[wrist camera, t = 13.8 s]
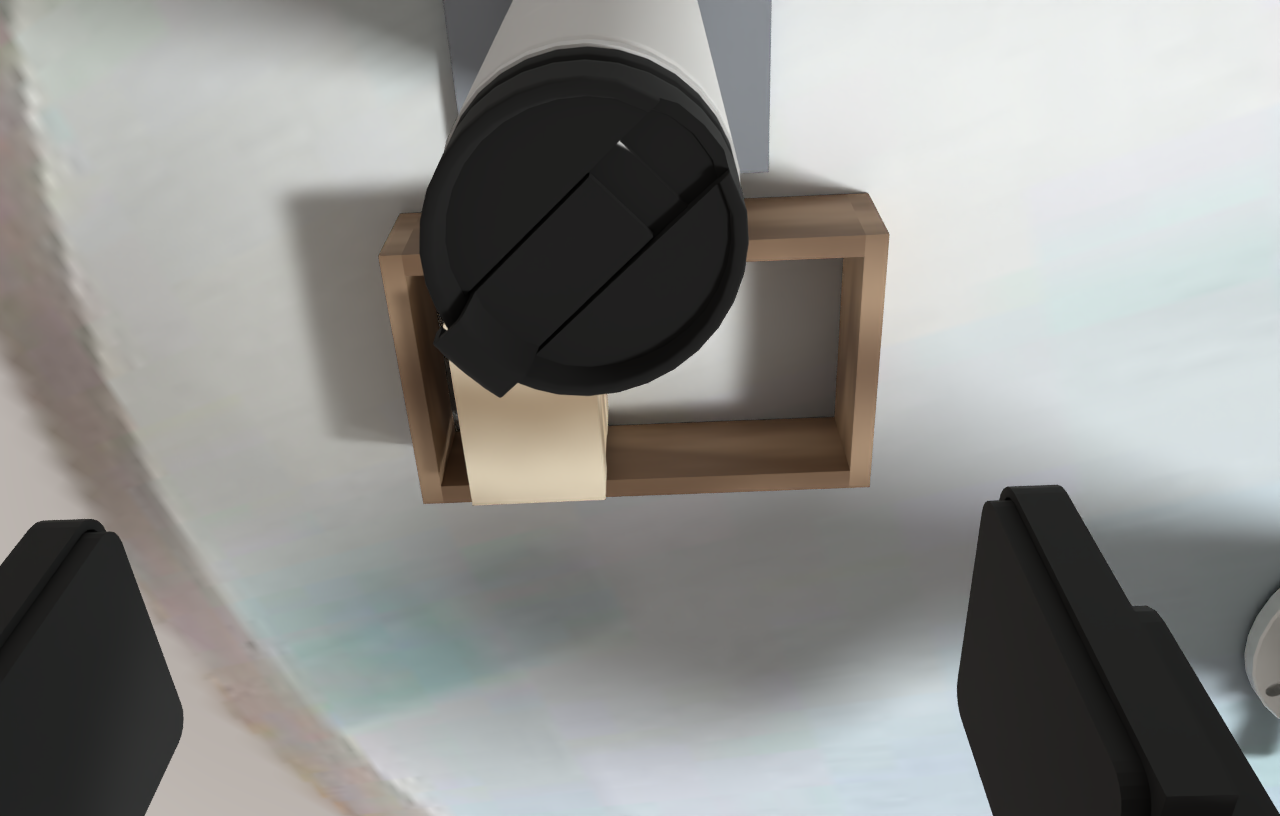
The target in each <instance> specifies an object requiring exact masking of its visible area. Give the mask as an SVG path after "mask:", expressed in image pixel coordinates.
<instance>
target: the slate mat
mask: <svg viewBox="0 0 1280 816" xmlns="http://www.w3.org/2000/svg"><path fill="white" fill-rule="evenodd" d="M512 1H513V0H443V3H444V11H445V18H446V26H447V33H448V41H449V48H450V56H451V63H452V71H453V79H454V86H455V94H456V101H457V109H458V114H459V112H460V110H461V108H462V106H463V104H464V102H465V100H466V98H467V95H468V93H469V91H470V89H471V87H472V85H473V83H474V81H475V79H476V77H477V75H478V72H479V70H480V68H481V66H482V64H483V62H484V60H485V58H486V56H487V54H488V52H489V49H490V47H491V45H492V43H493V41H494V39H495V37H496V35H497V33H498V31H499V29H500V26H501V24H502V22H503V20H504V18H505V16H506V14H507V12H508V10H509V8H510V5H511V3H512ZM697 1H698V5H699V9H700V13H701V17H702V21H703V25H704V29H705V33H706V37H707V41H708V45H709V49H710V53H711V57H712V61H713V65H714V69H715V73H716V77H717V81H718V85H719V89H720V93H721V97H722V101H723V105H724V109H725V113H726V117H727V121H728V125H729V129H730V133H731V137H732V141H733V145H734V149H735V153H736V157H737V161H738V165H739V169H740V173H757V172H769V116H770V57H771V0H697Z"/></svg>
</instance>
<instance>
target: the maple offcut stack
mask: <svg viewBox="0 0 1280 816" xmlns="http://www.w3.org/2000/svg"><path fill="white" fill-rule="evenodd" d="M443 328H445V329H446V330H448V329H447V327H446V325H445V323H444V324H443ZM449 364H450V371H451V377H452V383H453V389H454V395H455V401H456V407H457V413H458V419H459V425H460V431H461V437H462V443H463V450H464V456H465V462H466V468H467V474H468V480H469V486H470V492H471V498H472V504H473V506H476V505H498V504H520V503H542V502H565V501H587V500H606V477H607V466H606V438H607V433H608V399H607V394H601V395H594V396H575V395H558V394H553V393H549V392H545V391H540V390H536V389H533V388H530V387H527V386H525V385H522V384H519V383H517V384H516V385H515V386H514V387H513V388H512V389H511V390H509V391H508V392H507V393H506V394H505V395H504V396H503V397H501V398H499V397H497V396H496V395H494V394H493V393H491V392H489V391H488V390H486V389H485V388H483V387H482V386H481V385H480V384H478V383H477V382H476V381H474V380H473V379H472V378H470V377H469V376H468V375H466V374H465V373H464V372H463V371H461V370H460V369H459V368H458V367H457V366H456V365H454V364H453V363H452V362H451V361H450V360H449Z"/></svg>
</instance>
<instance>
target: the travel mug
mask: <svg viewBox="0 0 1280 816" xmlns="http://www.w3.org/2000/svg"><path fill="white" fill-rule="evenodd" d="M748 245H749V236H748V217H747V209H746V206H745V201H744V197H743V192H742V188H741V184H740V169H739V165H738V161H737V157H736V153H735V149H734V145H733V141H732V137H731V133H730V129H729V125H728V121H727V117H726V113H725V109H724V105H723V101H722V97H721V93H720V89H719V85H718V81H717V77H716V73H715V69H714V65H713V61H712V57H711V53H710V49H709V45H708V41H707V37H706V33H705V29H704V25H703V21H702V17H701V13H700V9H699V5H698V1H697V0H513V1H512V3H511V5H510V8H509V10H508V12H507V14H506V16H505V18H504V20H503V22H502V24H501V26H500V29H499V31H498V33H497V35H496V37H495V39H494V41H493V43H492V45H491V47H490V49H489V52H488V54H487V56H486V58H485V60H484V62H483V64H482V66H481V68H480V70H479V72H478V75H477V77H476V79H475V81H474V83H473V85H472V87H471V89H470V91H469V93H468V95H467V98H466V100H465V102H464V104H463V106H462V108H461V110H460V112H459V114H458V117H457V119H456V121H455V123H454V125H453V128H452V130H451V132H450V134H449V136H448V139H447V141H446V145H445V150H444V153H443V155H442V157H441V160H440V162H439V164H438V166H437V168H436V170H435V173H434V175H433V177H432V179H431V181H430V184H429V186H428V188H427V191H426V195H425V200H424V204H423V208H422V213H421V217H420V233H419V254H420V259H421V264H422V269H423V274H424V280H425V284H426V286H427V289H428V291H429V294H430V296H431V298H432V301H433V303H434V306H435V307H436V309H437V311H438V313H439V314H440V316H441V318H442V320H443V322H444V323H445V325H446V327H447V329H448V330H446V329H445V328H443V327H441V328H440V329H439V330H438V331H437V333H436V336H435V339H434V342H433V345H434V346H435V347H437V348H438V349H439V351H440V352H441V353H442V354H443V355H444V356H445V357H446V358H447V359H449V360H450V361H451V362H452V363H453V364H454V365H456V366H457V367H458V368H459V369H460V370H461V371H463V372H464V373H465V374H466V375H468V376H469V377H470V378H472V379H473V380H474V381H476V382H477V383H478V384H480V385H481V386H482V387H483V388H485V389H486V390H488V391H489V392H491V393H493V394H494V395H496V396H497V397H499V398H501V397H503V396H504V395H505V394H506V393H507V392H508V391H509V390H511V389H512V388H513V387H514V386H515V385H516V384H517V383H519V384H522V385H525V386H527V387H530V388H533V389H536V390H540V391H545V392H549V393H553V394H558V395H575V396H594V395H601V394H609V393H617V392H621V391H624V390H627V389H631V388H634V387H637V386H640V385H643V384H646V383H649V382H651V381H653V380H655V379H656V378H658V377H660V376H662V375H664V374H666V373H668V372H670V371H672V370H674V369H675V368H676V367H678V366H679V365H680V364H682V363H683V362H684V361H685V360H687V359H688V358H689V357H691V356H692V355H693V354H694V353H696V352H697V351H698V350H699V349H700V348H701V347H702V346H703V345H704V344H705V342H706V341H707V340H708V339H709V338H710V337H711V336H712V335H713V333H714V332H715V331H716V330H717V329H718V328H719V326H720V324H721V323H722V321H723V319H724V318H725V316H726V314H727V313H728V311H729V309H730V308H731V306H732V304H733V303H734V300H735V298H736V295H737V292H738V289H739V287H740V284H741V281H742V278H743V275H744V272H745V265H746V259H747V252H748Z"/></svg>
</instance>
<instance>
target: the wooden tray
mask: <svg viewBox="0 0 1280 816" xmlns="http://www.w3.org/2000/svg"><path fill="white" fill-rule="evenodd" d="M744 201H745V206H746V209H747V217H748V236H749V245H748V252H747V259H746V262H753V261H777V260H800V259H824V258H843V271H842V288H841V306H840V324H839V342H838V360H837V378H836V396H835V413H834V417H819V418H793V419H768V420H742V421H717V422H691V423H666V424H640V425H614V426H608V433H607V438H606V466H607V477H606V497H617V496H644V495H670V494H697V493H724V492H750V491H777V490H803V489H830V488H856V487H870V474H871V462H872V449H873V436H874V423H875V411H876V398H877V385H878V373H879V360H880V347H881V335H882V322H883V309H884V297H885V284H886V271H887V259H888V246H889V232H888V230H887V228H886V227H885V225H884V223H883V221H882V219H881V217H880V215H879V213H878V211H877V209H876V207H875V205H874V203H873V201H872V199H871V198H870V196H869V194H868V193H861V194H838V195H815V196H792V197H769V198H746V199H744ZM420 217H421V213H402V214H399V216H398V218H397V220H396V222H395V224H394V226H393V228H392V230H391V232H390V234H389V236H388V238H387V240H386V242H385V244H384V246H383V248H382V250H381V252H380V254H379V255H378V257H379V263H380V268H381V274H382V279H383V285H384V290H385V295H386V301H387V306H388V312H389V317H390V323H391V328H392V334H393V339H394V345H395V350H396V356H397V361H398V366H399V372H400V377H401V383H402V388H403V394H404V399H405V405H406V410H407V416H408V421H409V426H410V432H411V437H412V443H413V448H414V454H415V459H416V465H417V470H418V476H419V481H420V487H421V492H422V497H423V503H424V504H431V503H458V502H472V498H471V492H470V486H469V480H468V474H467V468H466V462H465V456H464V450H463V443H462V437H461V432H455V425H454V419H453V413H452V406H451V400H450V394H449V387H448V381H447V375H446V368H445V362H444V355H443V354H442V353H441V352H440V351H439V349H438V348H437V347H435V346H434V345H433V342H434V339H435V336H436V333H437V331H438V330H439V324H438V317H437V311H436V307H435V306H434V303H433V301H432V298H431V296H430V294H429V291H428V289H427V286H426V284H425V280H424V274H423V269H422V264H421V259H420V254H419V233H420Z"/></svg>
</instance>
